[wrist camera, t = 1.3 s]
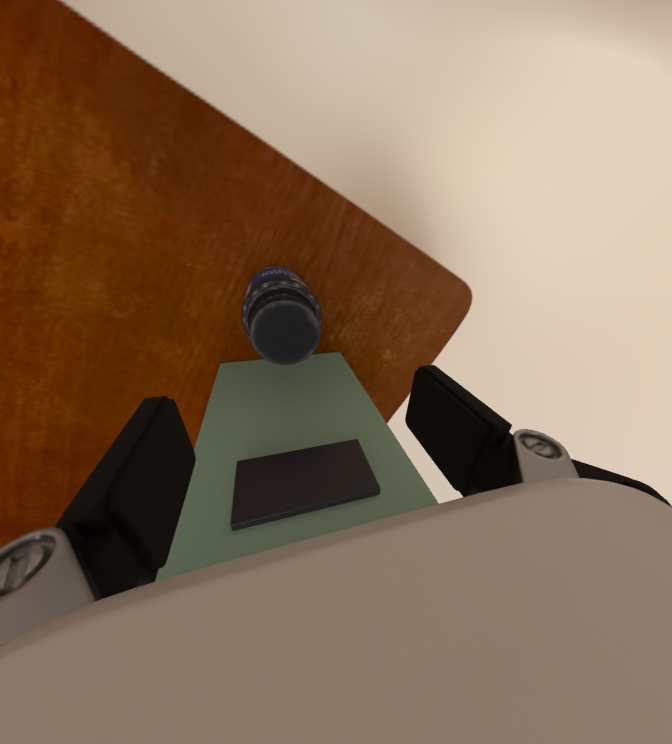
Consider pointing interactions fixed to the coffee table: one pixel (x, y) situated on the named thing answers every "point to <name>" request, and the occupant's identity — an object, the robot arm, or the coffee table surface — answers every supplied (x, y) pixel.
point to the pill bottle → (281, 316)
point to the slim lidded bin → (288, 463)
